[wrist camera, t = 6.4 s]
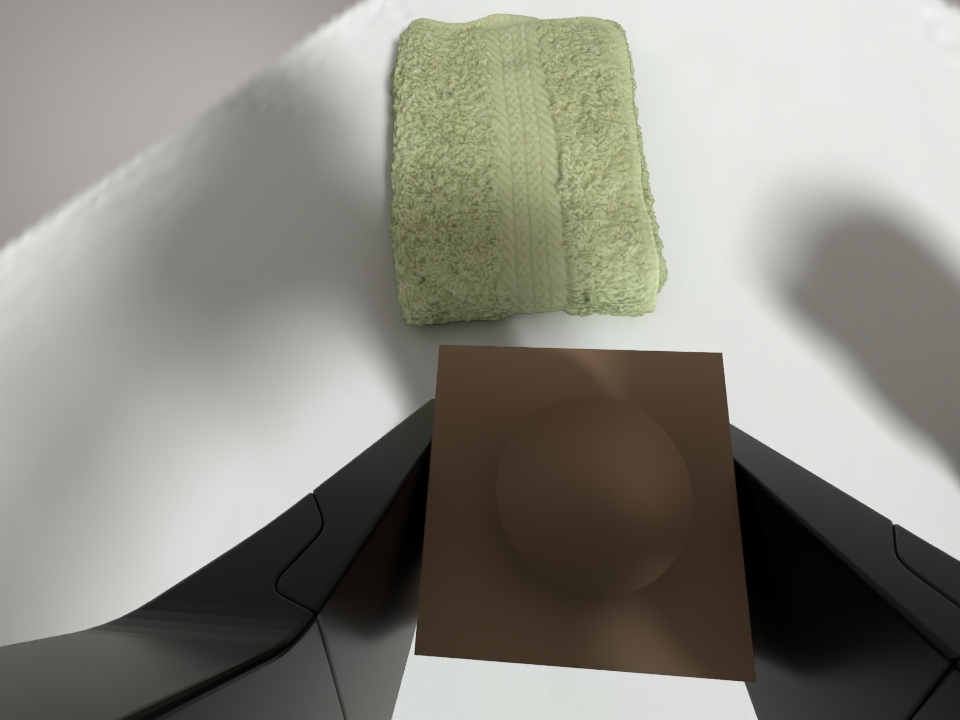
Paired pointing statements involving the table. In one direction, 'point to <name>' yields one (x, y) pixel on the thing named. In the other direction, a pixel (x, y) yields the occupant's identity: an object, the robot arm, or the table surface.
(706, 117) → the table surface
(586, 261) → the washcloth
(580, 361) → the walnut pillar
